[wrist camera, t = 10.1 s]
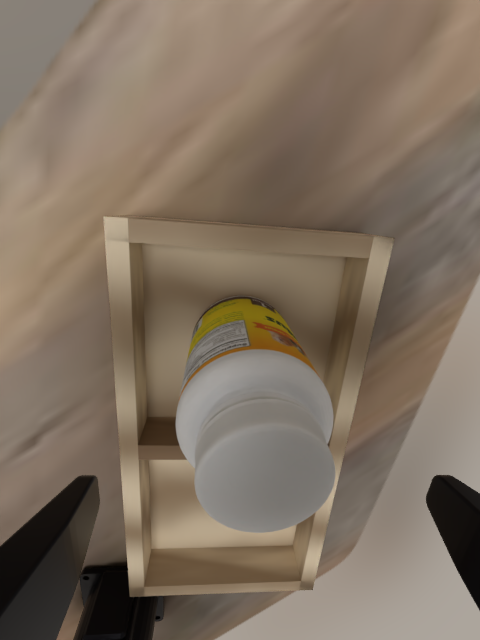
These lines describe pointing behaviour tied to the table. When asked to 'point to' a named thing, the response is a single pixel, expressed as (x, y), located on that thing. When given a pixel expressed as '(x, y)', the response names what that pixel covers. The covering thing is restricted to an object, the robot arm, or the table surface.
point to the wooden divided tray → (168, 371)
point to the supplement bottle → (254, 419)
